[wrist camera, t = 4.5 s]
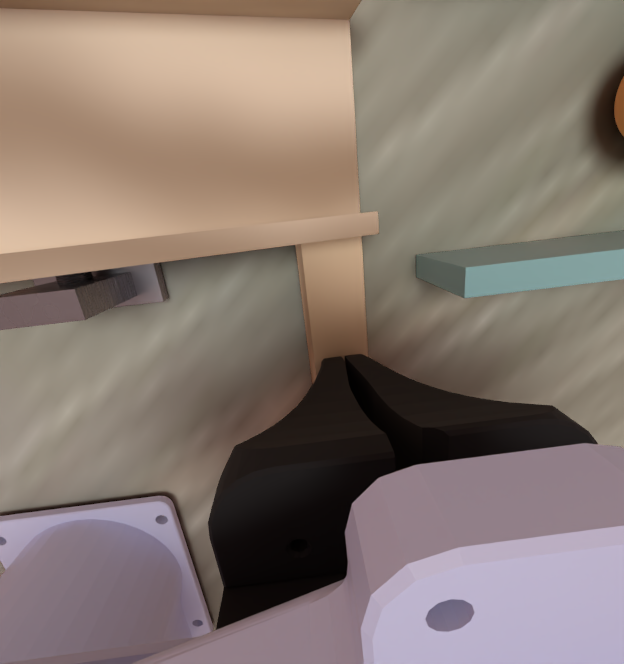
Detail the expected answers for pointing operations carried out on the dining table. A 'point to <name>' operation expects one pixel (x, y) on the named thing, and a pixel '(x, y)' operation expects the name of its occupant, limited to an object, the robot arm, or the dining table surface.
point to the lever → (185, 143)
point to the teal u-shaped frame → (525, 265)
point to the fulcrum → (81, 295)
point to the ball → (620, 107)
